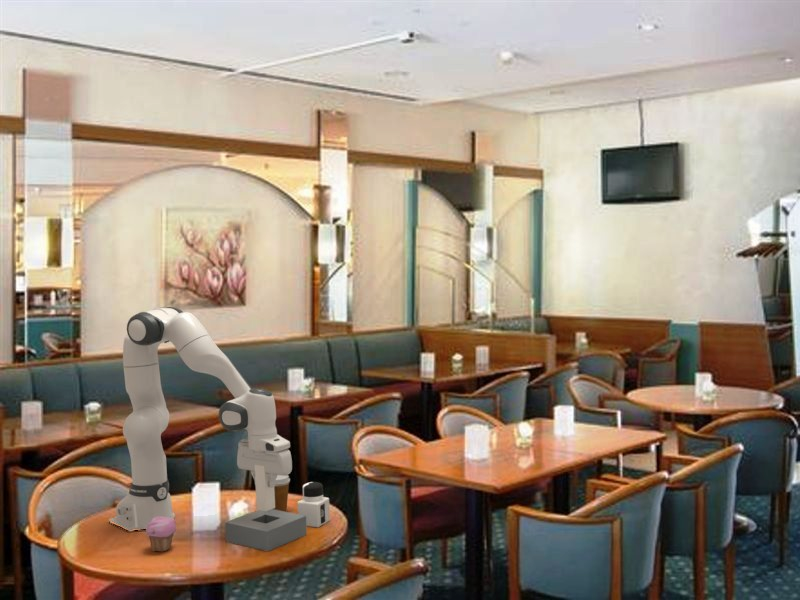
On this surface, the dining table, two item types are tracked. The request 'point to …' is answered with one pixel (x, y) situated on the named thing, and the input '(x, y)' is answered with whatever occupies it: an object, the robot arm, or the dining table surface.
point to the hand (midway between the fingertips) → (264, 485)
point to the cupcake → (161, 533)
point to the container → (314, 505)
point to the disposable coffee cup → (281, 492)
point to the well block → (265, 529)
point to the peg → (263, 490)
